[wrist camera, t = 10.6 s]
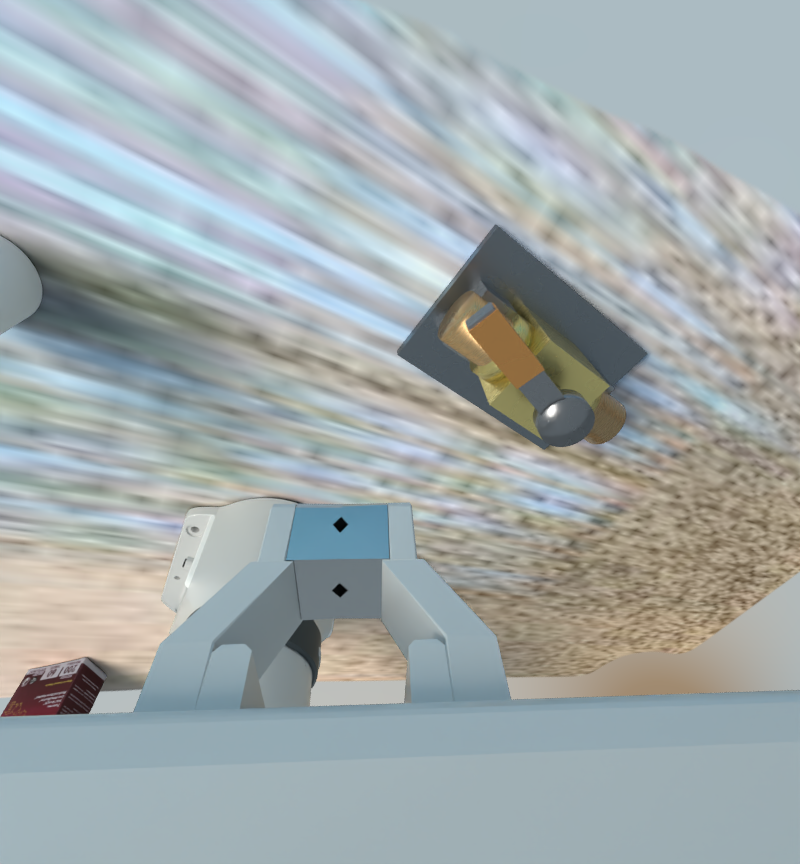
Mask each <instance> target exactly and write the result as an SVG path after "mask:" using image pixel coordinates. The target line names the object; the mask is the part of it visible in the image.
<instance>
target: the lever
mask: <svg viewBox="0 0 800 864" xmlns="http://www.w3.org/2000/svg"><path fill="white" fill-rule="evenodd" d="M465 323H466V324H465V325H466V327H467V329H468V332H469V333H470V334H471V336H472V337H473V338H474V339H475V340H476V342H477V343H478V344H479V345H480V346H481V347H482V349H483V350H484V351H485V352H486V353H487V355H488V356H489V357H490V358H491V359H492V361H493V362H494V363H495V364H496V365H497V366H498V368H499V369H500V370H501V371H502V372H503V374H504V375H505V376H506V377H507V378H508V379H509V381H510V382H511V383H512V384H513V385H514V387H515V388H516V389H518V388H519V390H520V391H521V392H522V393H523V394H524V396H525V397H526V398H527V399H528V400H529V402H530V403H531V404H532V405H533V406H534V407H535V409H534V412H533V422H534V424H535V426H536V428H537V430H538V432H539V434H540V436H541V438H542V439H543V440H544V441H545V442H546V443H547V444H549V445H552V446H556V447H566V446H570V445H573V444H576V443H578V442H579V441H581V440H582V439H584V438H585V437H586V436H587V435H588V434H589V433H590V431H591V430H592V428H593V426H594V422H595V414H594V411H593V409H592V408H591V407H590V405H589V404H588V402H587V401H586V400H585V398H584V397H583V396H582V395H581V394H580V393H579V392H577V391H574V390H571V389H561V390H559V388H558V387H557V386H556V385H555V383H554V382H553V381H552V379H551V378H550V377H549V376H548V374H547V373H546V372H545V371H544V370H545V369H544V368H543V366H542V364H541V363H540V361H539V360H538V359H537V357H536V356H535V355H534V354H533V352H532V351H531V350H530V348H529V347H528V346H527V345H526V343H525V342H524V341H523V339H522V338H521V337H520V336H519V334H518V333H517V332H516V331H515V329H514V328H513V327H512V325H511V324H510V323H509V322H508V320H507V319H506V318H505V316H504V315H503V314H502V313H501V311H500V310H499V309H498V307H497V306H496V305H495V304H494V302H493V303H491V302H489V303H487V304H486V305H485V306H484V307H482V308H481V309H480V310H479V311H477V312H476V313H475V314H474V315H472V316H471V317H470V318H469V319H467V320H466V321H465Z"/></svg>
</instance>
